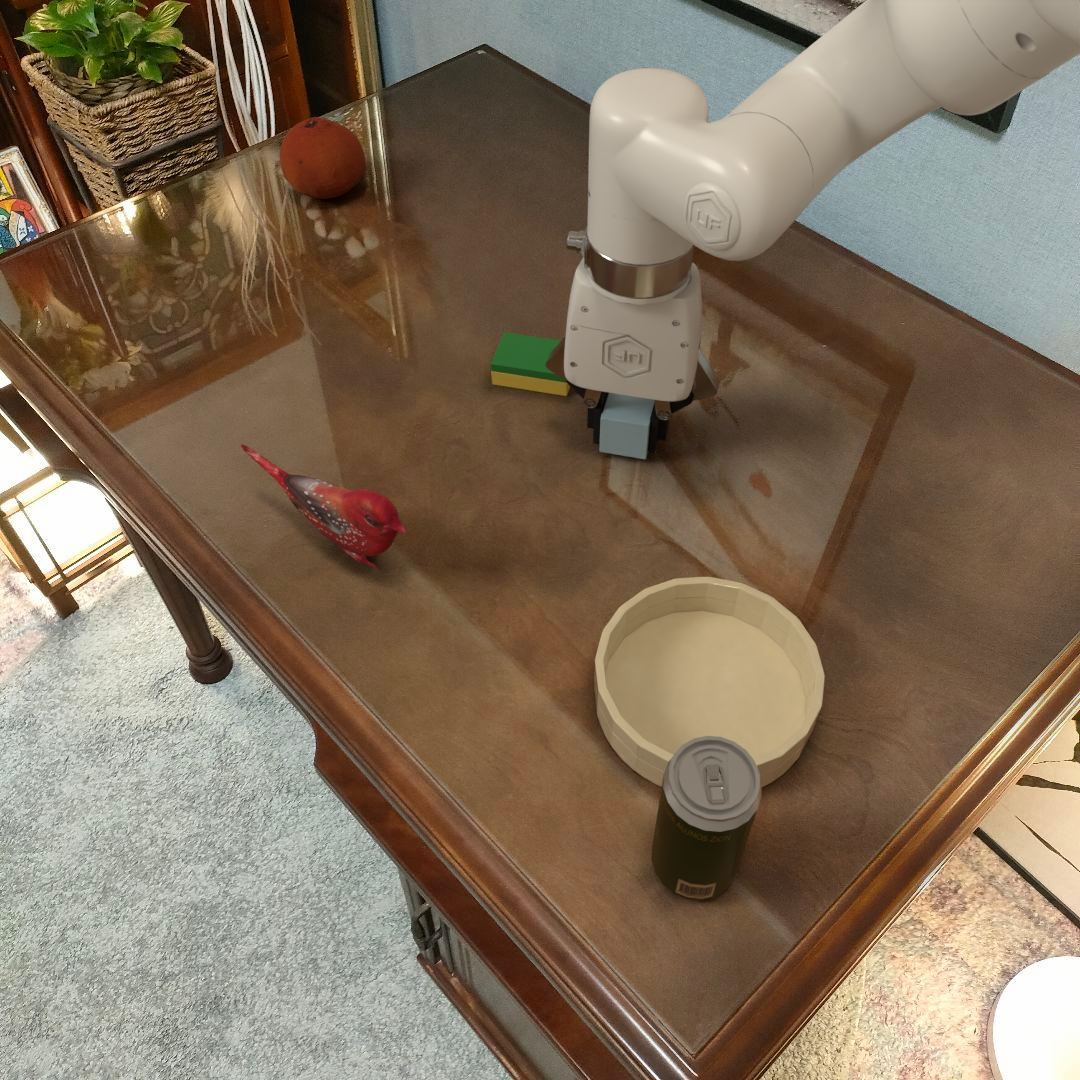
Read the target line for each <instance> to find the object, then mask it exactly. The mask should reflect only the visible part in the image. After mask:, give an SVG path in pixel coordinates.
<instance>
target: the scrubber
mask: <svg viewBox="0 0 1080 1080" xmlns="http://www.w3.org/2000/svg"><path fill="white" fill-rule="evenodd" d="M561 341H562V340H561V339H553V338H548V337H547V338H546V337H540V336H534V335H527V334H520V333H513V332H508V331H507V332H506V331H504V332H503V334H502V336H501V339H500V341H499V343H498V345H497V347H496V350H495V352H494V355H493V357H492V358H491V359H492V360H491V361H490V375H491V385H495V386H499V387H506V388H512V389H518V390H519V389H520V390H524V391H531V392H538V393H543V394H549V395H556V396H561V397H562V396H563V397H567V396H568V394H569V392H570V388H571V387H570V386H569V385H568V384H567V380H566V379H564V378H563V379H562V378H560V377H559V376H557V375H556V374H554V373H553V372H551V371H550V370H548V369H547V368H546V365H545V364H546V361H547V359H548V356H549V354H550V352H551V351H552V350H553V349H554V348H555V347H556V346H557V345H558V344H559V343H560V342H561Z"/></svg>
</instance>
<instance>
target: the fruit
mask: <svg viewBox="0 0 1080 1080" xmlns="http://www.w3.org/2000/svg"><path fill="white" fill-rule="evenodd" d="M279 161H280V169H281V171H282V175H283V177H284V179H285V180H286V182H287V183H288V184H289V185H290V186H291V187H292V188H293V189H294V190H295V191H296V192H297V193H300V194H301V195H303V196H306V197H310V198H315V199H320V200H321V199H322V200H326V199H327V200H328V199H333V198H337V197H339V196H342V195H344V194H346V193H347V192H349V191H350V190H351V189H353V188H354V187H355V186H356V185H358V183H359V182H360V181H361V179H362V177H363V175H364V173H365V171H366V157H365V152H364V149H363V146H362V144H361V142H360V140H359V138H358V137H357V136H356V134H355V133H354V132H353V131H352V130H350V129H349V127H347V126H345V125H343V124H341V123H339V122H337V121H335V120H332V119H327V118H325V117H319V116H314V117H313V116H312V117H310V118H307V119H305V120H302V121H300V122H297V123H296V124H295V125H294V126H292V127H291V129H289V130H288V132H287V133H286V134H285V135H284V137H283V139H282V141H281V145H280V149H279Z"/></svg>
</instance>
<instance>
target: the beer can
mask: <svg viewBox="0 0 1080 1080" xmlns="http://www.w3.org/2000/svg"><path fill="white" fill-rule="evenodd" d="M762 790H763V789H762V788H761V780H760V773H759V771H758V768H757V766H756V763H755V761H754V759H753V758H752V757H751V756H750V754H749V753H748V752H747V751H746V750H745V749H744V748H742V747H741V746H740V745H738V744H737V743H735V742H734V741H731V740H728V739H725V738H723V737H716V736H704V737H699V738H694V739H692V740H690V741H689V742H687V743H685V744H683V745H682V746H681V747H680V748H679V749H678V750H677V752H676V753H675V754H674V756H673V757H672V758H671V759H670V760H669V762H668V764H667V767H666V769H665V772H664V775H663V782H662V787H661V788H660V794H659V795H660V796H659V801H658V808H657V814H656V819H655V825H654V826H655V827H654V833H653V837H652V838H653V839H652V843H651V844H652V845H651V863H652V867H653V870H654V874H655V875H656V878H658V879H659V881H660V882H661V884H662V885H663V886H664V887H665V888H666V889H667V890H669V892H671V893H672V894H673V895H676V896H678V897H681V898H683V899H685V900H689V901H691V900H692V901H698V902H699V901H700V902H702V901H706V900H710V899H715V898H716V897H718V896H719V895H721V894H722V893H725V892H726V891H727V889H729V887H730V885H731V884H732V883H733V882H734V880H735V878H736V874H737V871H738V869H739V865H740V863H741V859H742V857H743V853H744V851H745V848H746V845H747V841H748V839H749V837H750V836H749V835H750V834H751V830H752V827H753V824H754V821H755V818H756V815H757V812H758V809H759V806H760V803H761V801H762V797H763V795H762V794H763V793H762Z"/></svg>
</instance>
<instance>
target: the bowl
mask: <svg viewBox="0 0 1080 1080" xmlns="http://www.w3.org/2000/svg"><path fill="white" fill-rule="evenodd" d="M593 673H594V674H593V675H594V676H593V690H594V702H595V711H596V715H597V718H598V721H599V725H600V727H601V730H602V732H603V734H604V736H605V737H606V738H605V739H606V740H607V741H608V743H609V745H610V746H611V748H612V749H613V750H614V752H615V753H616V754H617V755H618V757H619V758H620V759H621V760H622V761H623V762H624V764H626V765H627V766H628V767H629V768H631V770H633V771H634V772H636V773H637V774H639V775H640V776H641V777H643V778H644V779H646V780H647V781H649V782H651V783H653V784H654V785H656V786H659V787H661V788H662V782H663V775H664V772H665V769H666V767H667V764H668V762H669V760H670V759H671V758H672V757H673V756H674V754H675V753H676V752H677V750H678V749H679V748H680V747H681V746H682V745H683V744H685V743H687V742H689V741H690V740H692V739H694V738H699V737H704V736H716V737H723V738H725V739H728V740H731V741H734V742H735V743H737V744H738V745H740V746H741V747H742V748H744V749H745V750H746V751H747V752H748V753H749V754H750V756H751V757H752V758H753V759H754V761H755V763H756V766H757V768H758V771H759V773H760V780H761V789H762V788H763V787H765V786H767V785H770V784H771V783H773V782H774V781H776V780H778V779H779V778H780V777H781V776H783V775H784V774H785V773H787V771H788V770H789V769H790V768H791V767H792V766H793V765H794V764H795V762H797V760H798V759H799V758H800V756H801V754H802V753H803V751H804V749H805V747H806V745H807V743H808V740H809V739H810V737H811V735H812V733H813V730H814V727H815V725H816V723H817V720H818V718H819V716H820V712H821V710H822V707H823V701H824V690H825V680H826V678H825V677H826V675H825V671H824V667H823V663H822V660H821V657H820V652H819V650H818V646H817V643H816V642H815V641H814V639H813V638H812V637H811V635H810V633H809V632H808V630H807V629H806V628H805V626H804V624H803V623H802V622H801V620H800V618H798V616H796V615H795V614H794V613H793V612H792V611H790V610H789V609H787V608H786V607H785V606H784V605H783V604H781V603H780V601H778V600H777V599H776V598H774V597H773V596H772V595H769V594H767V593H765V592H762V591H761V590H758V589H757V588H754V587H752V586H750V585H748V584H745V583H744V582H740V581H734V580H729V579H723V578H719V577H713V576H693V577H692V576H691V577H678V578H672V579H670V580H666V581H664V582H660V583H658V584H654V585H652V586H649V587H646V588H644V589H642V590H641V591H639V592H638V593H636V594H635V595H634V596H633V597H631V598H629V600H627V601H626V602H624V603H623V604H622V605H620V606H618V607H617V610H616V611H615V613H614V614H613V615H612V617H610V619H609V620H608V622H607V624H605V627H604V628H603V629H602V631H601V635H600V639H599V642H598V646H597V650H596V654H595V657H594V672H593Z"/></svg>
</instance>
